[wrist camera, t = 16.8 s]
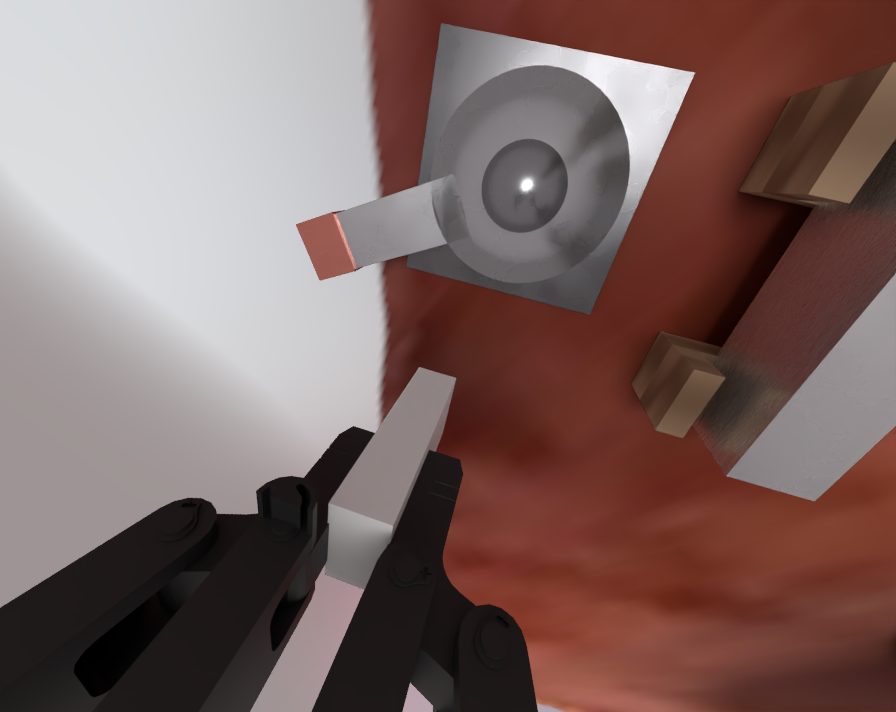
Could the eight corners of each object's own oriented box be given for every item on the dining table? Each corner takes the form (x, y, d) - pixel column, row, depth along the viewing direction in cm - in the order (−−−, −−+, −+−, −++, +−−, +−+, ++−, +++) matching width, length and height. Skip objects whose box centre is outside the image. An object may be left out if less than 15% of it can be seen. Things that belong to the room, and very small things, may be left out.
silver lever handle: (606, 50, 16) (633, 4, 12) (621, 249, 19) (646, 267, 15) (306, 169, 21) (252, 165, 17) (361, 309, 24) (327, 334, 20)
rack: (769, 422, 22) (827, 480, 18) (631, 383, 23) (654, 430, 19) (1010, 138, 15) (1212, 119, 10) (791, 95, 16) (893, 62, 11)
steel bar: (748, 427, 21) (814, 501, 16) (681, 409, 21) (725, 475, 16) (1028, 79, 13) (1333, 17, 8) (911, 59, 13) (1134, -12, 8)
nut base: (588, 312, 22) (589, 314, 21) (408, 264, 23) (406, 266, 22) (690, 76, 16) (694, 72, 16) (443, 27, 17) (441, 23, 17)
